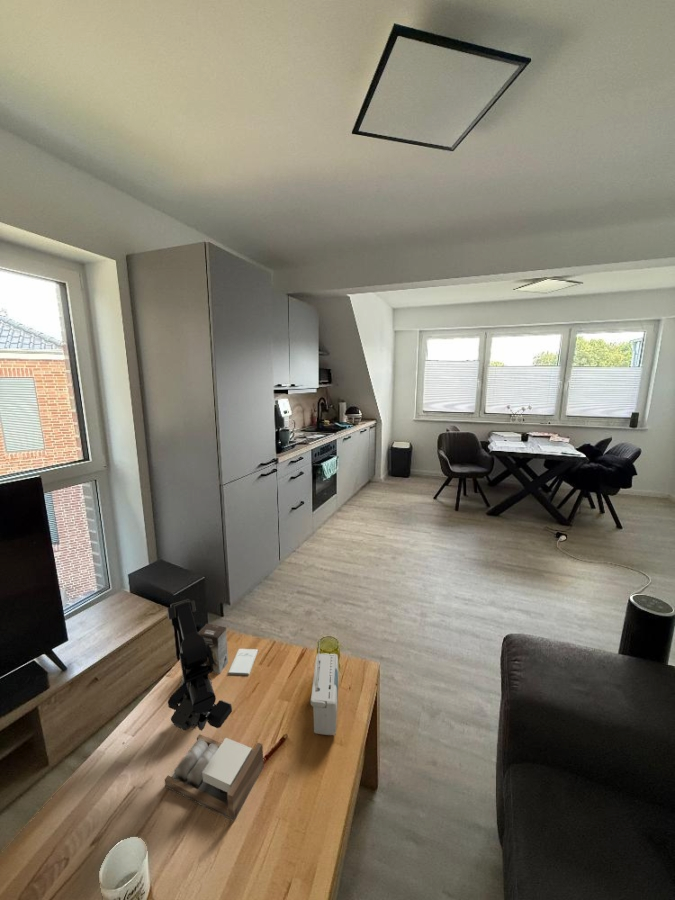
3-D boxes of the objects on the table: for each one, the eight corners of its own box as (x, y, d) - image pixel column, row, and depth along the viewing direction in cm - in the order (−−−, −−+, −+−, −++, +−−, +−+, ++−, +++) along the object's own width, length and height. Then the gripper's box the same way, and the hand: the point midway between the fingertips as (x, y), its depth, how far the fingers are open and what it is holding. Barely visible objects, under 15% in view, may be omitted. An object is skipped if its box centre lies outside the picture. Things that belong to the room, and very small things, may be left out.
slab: (203, 781, 96) (202, 772, 96) (226, 745, 105) (225, 737, 105) (230, 794, 93) (230, 784, 93) (252, 756, 102) (251, 748, 102)
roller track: (165, 786, 99) (162, 763, 98) (200, 740, 112) (198, 718, 111) (234, 821, 91) (232, 796, 90) (263, 766, 104) (262, 744, 103)
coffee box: (199, 669, 140) (196, 633, 136) (209, 657, 146) (206, 622, 142) (219, 674, 137) (216, 637, 134) (229, 662, 143) (226, 626, 140)
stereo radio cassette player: (336, 738, 112) (336, 684, 109) (310, 737, 113) (309, 684, 109) (338, 683, 133) (338, 636, 129) (316, 682, 133) (316, 635, 129)
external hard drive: (228, 675, 137) (238, 651, 150) (249, 676, 137) (258, 652, 149) (227, 672, 137) (238, 648, 149) (248, 673, 137) (257, 649, 149)
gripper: (149, 697, 98) (155, 743, 101) (203, 720, 91) (208, 768, 95) (180, 666, 108) (185, 709, 111) (231, 685, 102) (234, 730, 105)
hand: (201, 729), depth 105 cm, fingers closed
